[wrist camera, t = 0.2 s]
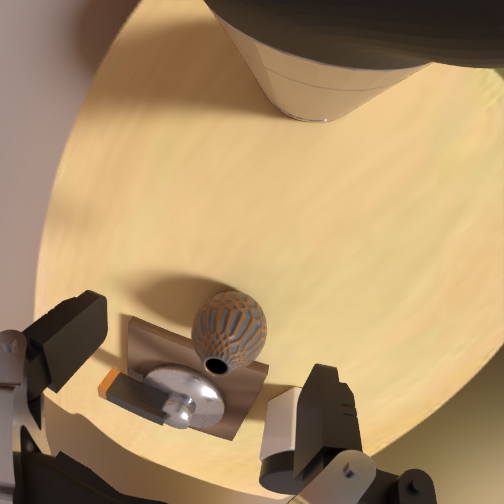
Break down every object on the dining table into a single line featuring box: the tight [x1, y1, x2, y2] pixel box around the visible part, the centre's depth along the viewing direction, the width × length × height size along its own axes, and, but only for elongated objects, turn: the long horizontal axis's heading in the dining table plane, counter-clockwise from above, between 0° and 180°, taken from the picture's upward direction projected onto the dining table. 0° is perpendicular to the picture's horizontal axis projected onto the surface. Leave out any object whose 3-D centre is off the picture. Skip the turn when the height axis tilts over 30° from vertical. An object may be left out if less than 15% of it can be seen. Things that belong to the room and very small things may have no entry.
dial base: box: [128, 317, 269, 441], centre depth 34 cm, size 17×17×2 cm
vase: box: [191, 291, 267, 377], centre depth 25 cm, size 7×7×9 cm
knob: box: [98, 364, 226, 429], centre depth 31 cm, size 16×11×6 cm
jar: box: [259, 387, 303, 495], centre depth 28 cm, size 9×8×12 cm
